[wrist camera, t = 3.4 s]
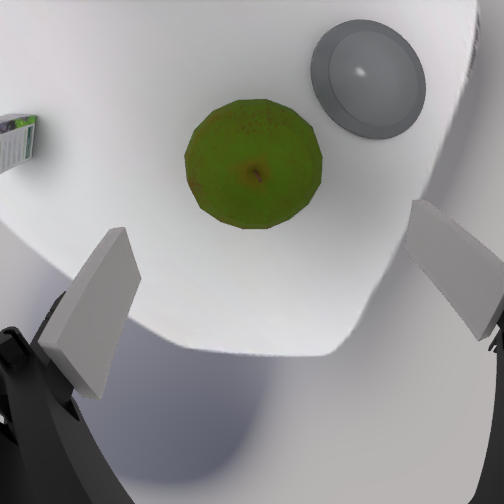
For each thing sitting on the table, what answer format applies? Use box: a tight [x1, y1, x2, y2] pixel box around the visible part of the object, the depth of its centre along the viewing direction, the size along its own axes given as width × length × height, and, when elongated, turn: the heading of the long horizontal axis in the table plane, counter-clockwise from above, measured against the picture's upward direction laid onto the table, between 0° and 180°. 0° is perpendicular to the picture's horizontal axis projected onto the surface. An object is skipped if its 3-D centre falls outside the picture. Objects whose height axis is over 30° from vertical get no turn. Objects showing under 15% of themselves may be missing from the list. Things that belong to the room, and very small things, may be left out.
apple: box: [184, 99, 322, 229], centre depth 23 cm, size 11×11×11 cm
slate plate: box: [311, 20, 426, 139], centre depth 23 cm, size 14×14×2 cm
